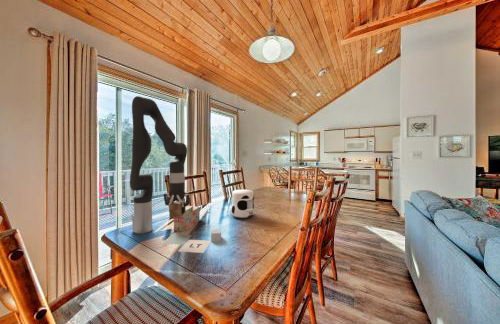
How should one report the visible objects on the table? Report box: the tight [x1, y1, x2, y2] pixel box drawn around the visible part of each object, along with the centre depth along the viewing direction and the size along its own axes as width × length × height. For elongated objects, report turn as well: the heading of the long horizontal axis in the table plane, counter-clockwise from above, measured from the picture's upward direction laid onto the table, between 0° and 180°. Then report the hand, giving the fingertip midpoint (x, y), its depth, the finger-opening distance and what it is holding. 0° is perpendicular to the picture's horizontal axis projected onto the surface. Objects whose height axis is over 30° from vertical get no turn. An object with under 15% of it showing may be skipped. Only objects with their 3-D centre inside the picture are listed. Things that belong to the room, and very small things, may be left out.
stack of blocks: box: [173, 205, 201, 233], centre depth 122 cm, size 21×6×12 cm, turn 170°
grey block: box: [210, 228, 222, 243], centre depth 103 cm, size 5×5×5 cm
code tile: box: [178, 239, 212, 254], centre depth 95 cm, size 12×12×1 cm
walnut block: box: [168, 201, 183, 217], centre depth 102 cm, size 6×6×6 cm
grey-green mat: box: [162, 233, 192, 245], centre depth 103 cm, size 11×11×1 cm
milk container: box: [230, 189, 256, 219], centre depth 141 cm, size 17×17×18 cm
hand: (177, 213), depth 102 cm, fingers closed on walnut block, 5 cm apart
